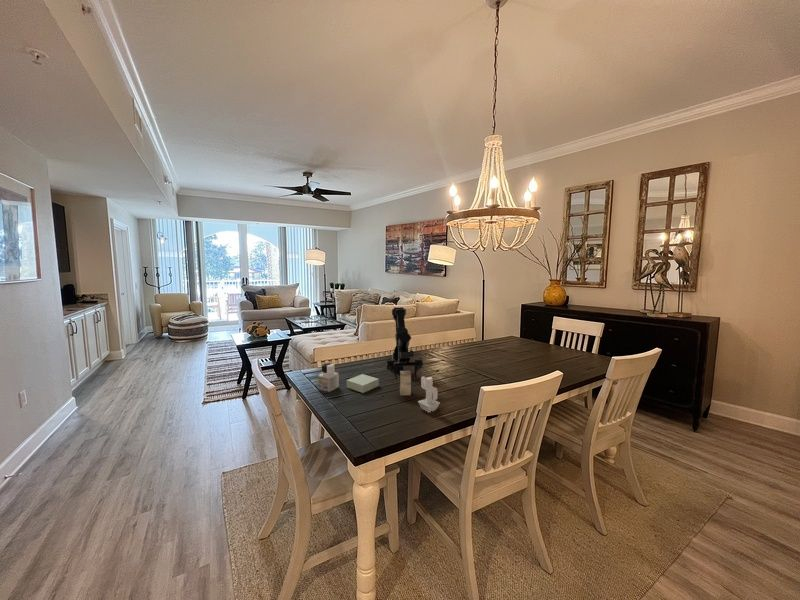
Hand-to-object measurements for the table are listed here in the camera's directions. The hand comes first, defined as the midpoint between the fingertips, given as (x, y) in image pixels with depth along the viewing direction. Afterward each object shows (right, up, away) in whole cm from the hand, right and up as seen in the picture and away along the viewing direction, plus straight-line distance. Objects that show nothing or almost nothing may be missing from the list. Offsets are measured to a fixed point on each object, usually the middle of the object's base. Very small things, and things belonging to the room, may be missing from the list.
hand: (405, 379), depth 168 cm
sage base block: (-23, -6, +10) cm, 25 cm away
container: (-40, -6, +7) cm, 42 cm away
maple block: (0, -7, +2) cm, 7 cm away
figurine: (+10, -10, -17) cm, 22 cm away
